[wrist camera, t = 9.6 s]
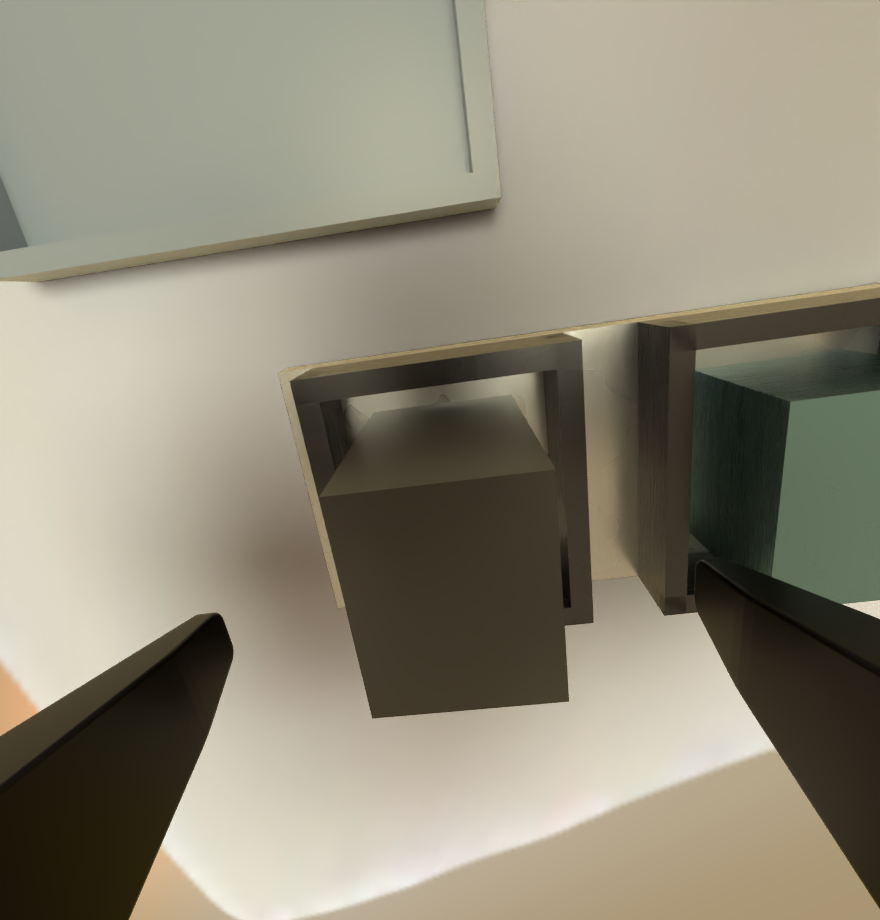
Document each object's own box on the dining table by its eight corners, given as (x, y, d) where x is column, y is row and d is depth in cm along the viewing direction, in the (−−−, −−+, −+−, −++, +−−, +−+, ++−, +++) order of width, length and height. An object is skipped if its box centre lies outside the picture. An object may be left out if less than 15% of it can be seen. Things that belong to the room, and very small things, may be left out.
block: (511, 394, 13) (555, 469, 8) (524, 547, 15) (568, 701, 9) (373, 412, 14) (318, 497, 8) (401, 561, 15) (372, 718, 10)
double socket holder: (917, 277, 13) (1180, 270, 8) (871, 532, 16) (1050, 635, 11) (288, 367, 14) (210, 405, 10) (344, 590, 17) (303, 705, 12)
